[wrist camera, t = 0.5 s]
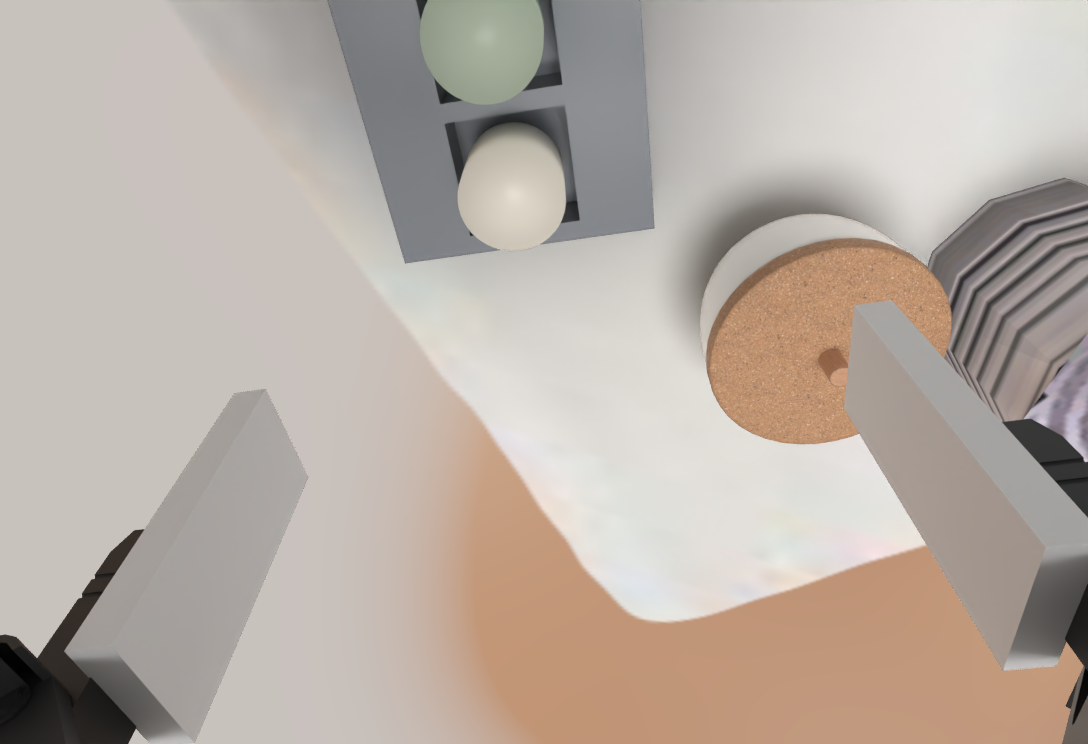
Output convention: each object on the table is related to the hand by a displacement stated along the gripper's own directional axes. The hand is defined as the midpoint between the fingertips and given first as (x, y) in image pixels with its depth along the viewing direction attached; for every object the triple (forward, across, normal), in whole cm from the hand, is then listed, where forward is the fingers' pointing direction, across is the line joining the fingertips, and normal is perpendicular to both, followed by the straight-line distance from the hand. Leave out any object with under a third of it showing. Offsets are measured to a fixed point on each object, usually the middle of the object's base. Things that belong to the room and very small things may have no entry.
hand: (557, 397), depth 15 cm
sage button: (+18, -2, +6) cm, 19 cm away
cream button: (+18, -2, 0) cm, 18 cm away
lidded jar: (+21, +11, -9) cm, 26 cm away
